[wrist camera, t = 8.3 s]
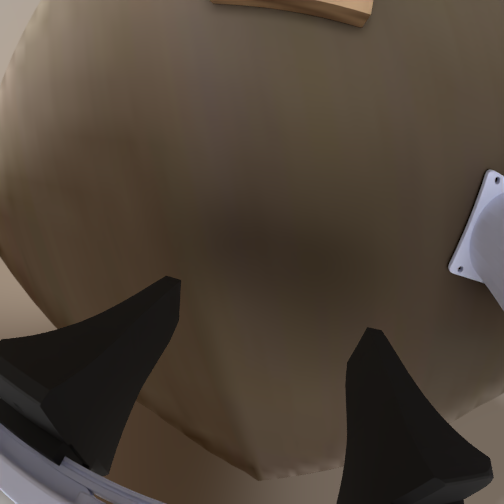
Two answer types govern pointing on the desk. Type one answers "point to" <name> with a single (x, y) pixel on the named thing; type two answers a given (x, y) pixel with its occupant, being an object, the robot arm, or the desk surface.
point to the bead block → (316, 8)
